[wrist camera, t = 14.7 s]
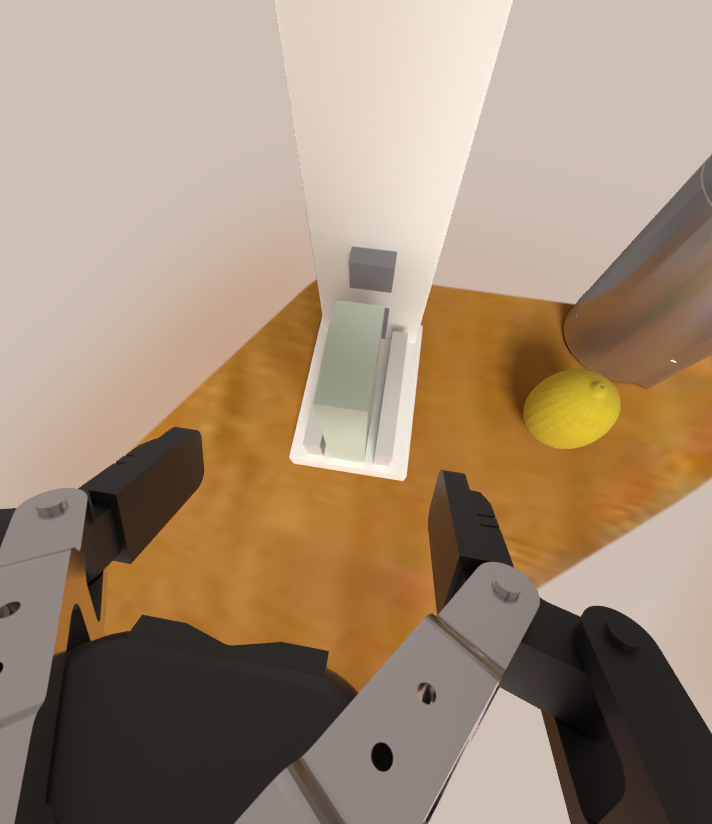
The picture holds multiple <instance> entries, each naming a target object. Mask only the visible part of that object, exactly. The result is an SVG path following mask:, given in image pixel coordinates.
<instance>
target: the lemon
mask: <svg viewBox="0 0 712 824" xmlns="http://www.w3.org/2000/svg"><path fill="white" fill-rule="evenodd" d="M620 405H621V401H620V397H619V393H618V391H617V389H616V387H615V386H614V385H613V384H612V382H611V381H610V380H608V379H607V378H606V377H605V376H603V375H601V374H599V373H597V372H594V371H591V370H586V369H570V370H565V371H562V372H559V373H556V374H554V375H551V376H549V377H547V378H546V379H544V380H543V381H542V382H540V383H539V384H538V385H537V386H536V387H534V389H533V390H532V391H531V393H530V394H529V396H528V397H527V399H526V402H525V405H524V408H523V418H524V422H525V425H526V427H527V429H528V431H529V432H530V434H531V435H532V436H533V437H534V438H535V439H537V440H538V441H539V442H541V443H543V444H545V445H547V446H550V447H554V448H558V449H572V448H577V447H581V446H585V445H588V444H590V443H592V442H594V441H595V440H597V439H599V438H600V437H602V436H603V435H604V434H605V433H606V432H607V431H608V430H609V429H610V428H611V427H612V426H613V424H614V423H615V422H616V420H617V418H618V415H619V413H620Z"/></svg>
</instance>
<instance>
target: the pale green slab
mask: <svg viewBox="0 0 712 824" xmlns="http://www.w3.org/2000/svg"><path fill="white" fill-rule="evenodd" d="M384 311H385V306H378V305H370V304H363V303H355V302H347V301H340V300H336V303H335V308H334V312H333V317H332V321H331V326H330V330H329V335H328V339H327V344H326V348H325V353H324V357H323V362H322V366H321V371H320V375H319V380H318V384H317V389H316V393H315V398H314V402H313V405H314V408H315V411H316V414H317V418H318V421H319V424H320V427H321V430H322V433H323V437H324V440H325V443H326V446H327V449H328V452H329V456H330V458H333V459H339V460H345V461H351V462H358V463H364V460H365V454H366V447H367V441H368V434H369V428H370V422H371V415H372V409H373V402H374V396H375V389H376V380H377V371H378V363H379V354H380V345H381V337H382V328H383V319H384Z"/></svg>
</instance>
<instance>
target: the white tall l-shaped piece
mask: <svg viewBox="0 0 712 824" xmlns="http://www.w3.org/2000/svg"><path fill="white" fill-rule="evenodd" d="M512 2H513V0H275V7H276V14H277V21H278V27H279V34H280V40H281V47H282V54H283V60H284V66H285V73H286V80H287V86H288V93H289V99H290V106H291V112H292V119H293V125H294V132H295V139H296V144H297V152H298V158H299V164H300V171H301V177H302V184H303V190H304V197H305V204H306V210H307V217H308V223H309V230H310V237H311V243H312V250H313V256H314V263H315V269H316V276H317V282H318V289H319V296H320V302H321V309H322V320H321V324H320V328H319V332H318V337H317V341H316V345H315V350H314V354H313V358H312V362H311V367H310V371H309V375H308V380H307V384H306V388H305V392H304V397H303V401H302V405H301V410H300V414H299V418H298V422H297V427H296V431H295V435H294V440H293V444H292V448H291V452H290V457H289V458H290V459H291V461H292V462H293V463H294V464H301V465H307V466H313V467H319V468H326V469H332V470H338V471H344V472H351V473H357V474H363V475H369V476H376V477H382V478H388V479H394V480H401V481H403V480H404V479H405V478H406V476H407V466H408V457H409V448H410V439H411V430H412V421H413V412H414V402H415V393H416V384H417V375H418V366H419V357H420V348H421V338H422V329H423V326H421V325H420V324H421V320H422V317H423V313H424V310H425V306H426V303H427V299H428V296H429V292H430V289H431V285H432V282H433V278H434V275H435V271H436V268H437V264H438V261H439V257H440V254H441V251H442V247H443V243H444V240H445V237H446V233H447V230H448V226H449V222H450V219H451V216H452V212H453V208H454V205H455V201H456V198H457V195H458V191H459V188H460V184H461V180H462V177H463V174H464V170H465V167H466V163H467V159H468V156H469V153H470V149H471V146H472V142H473V139H474V135H475V131H476V128H477V125H478V121H479V118H480V114H481V111H482V107H483V104H484V100H485V97H486V93H487V90H488V86H489V83H490V79H491V76H492V72H493V69H494V65H495V62H496V58H497V54H498V51H499V48H500V44H501V41H502V37H503V33H504V30H505V27H506V23H507V19H508V16H509V12H510V9H511V6H512ZM336 300H340V301H347V302H355V303H363V304H370V305H378V306H385V311H384V319H383V328H382V337H381V345H380V354H379V363H378V371H377V380H376V389H375V396H374V402H373V409H372V415H371V422H370V428H369V434H368V441H367V447H366V454H365V460H364V463H358V462H351V461H345V460H339V459H333V458H330V456H329V452H328V449H327V446H326V443H325V440H324V437H323V433H322V430H321V427H320V424H319V421H318V418H317V414H316V411H315V408H314V405H313V402H314V398H315V393H316V389H317V384H318V380H319V375H320V371H321V366H322V362H323V357H324V353H325V348H326V344H327V339H328V335H329V330H330V326H331V321H332V317H333V312H334V308H335V303H336Z"/></svg>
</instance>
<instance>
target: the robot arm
mask: <svg viewBox="0 0 712 824" xmlns="http://www.w3.org/2000/svg"><path fill="white" fill-rule="evenodd" d="M563 329H564V338H565V341H566V344H567V346H568V348H569V350H570V351H571V353H572V354H573V356H574V357H575V358H576V359H577V360H578V362H580V363H581V364H582V365H583V366H584V367H585V368H587V369H588V370H591V371H594V372H597V373H599V374H601V375H603V376H605V377H606V378H607V379H609V380H613V381H618V382H632V383H637V384H639V385H641V386H643V387H645V388H650V387H652V386H654V385H656V384H658V383H659V382H661V381H663V380H665V379H667V378H669V377H671V376H672V375H674V374H676V373H678V372H680V371H682V370H684V369H686V368H687V367H689V366H691V365H693V364H695V363H697V362H699V361H700V360H702V359H704V358H706V357H708V356H710V355H712V155H711V156H710V157H709V158H708V159H707V160H706V161H705V162H704V163H703V164H702V165H701V167H700V168H699V169H698V170H697V171H696V172H695V173H694V174H693V175H692V176H691V178H690V179H689V180H688V181H687V182H686V183H685V184H684V185H683V186H682V188H681V189H680V190H679V191H678V192H677V193H676V194H675V195H674V196H673V197H672V199H671V200H670V201H669V202H668V203H667V204H666V205H665V206H664V207H663V208H662V209H661V211H660V212H659V213H658V214H657V215H656V216H655V217H654V218H653V219H652V220H651V222H650V223H649V224H648V225H647V226H646V227H645V228H644V229H643V230H642V232H641V233H640V234H639V235H638V236H637V237H636V238H635V239H634V240H633V241H632V242H631V244H630V245H629V246H628V247H627V248H626V249H625V250H624V251H623V252H622V253H621V255H620V256H619V257H618V258H617V259H616V260H615V261H614V262H613V263H612V265H611V266H610V267H609V268H608V269H607V270H606V271H605V272H604V273H603V275H602V276H601V277H600V278H599V279H598V280H597V281H596V282H595V283H594V284H593V286H592V287H591V288H590V289H589V290H588V291H587V292H586V293H585V294H584V295H583V296H582V297H581V298H580V299H579V300H578V302H577V303H576V304H575V306H574V307H573V308H572V309H571V310H570V311H569V312H568V314H567V316H566V318H565V322H564V327H563ZM203 475H204V463H203V451H202V438H201V434H200V432H199V431H198V430H192V429H186V428H180V427H173V428H171V429H170V430H169V431H167V432H166V433H165V434H163V435H162V436H161V437H159V438H158V439H154V440H151V441H149V442H146V443H144V444H141V445H139V446H137V447H136V448H135V449H133V450H132V451H130V452H129V453H128V454H127V455H126V456H123V457H122V458H120V459H119V460H118V461H116V464H112V465H111V466H109V467H108V468H106V469H105V470H104V471H102V472H101V473H99V474H98V475H97V476H95V477H94V478H92V479H91V480H89V481H88V482H87V483H85V484H84V485H82V486H81V487H80V488H78V489H74V488H62V489H56V490H51V491H48V492H44V493H41V494H39V495H36V496H34V497H32V498H30V499H28V500H27V501H25V502H24V503H23V504H21V505H20V506H19V507H18V508H13V509H0V824H429V822H430V820H431V818H432V816H433V814H434V813H435V810H436V809H437V807H438V805H439V803H440V801H441V799H442V797H443V795H444V793H445V792H446V790H447V788H448V786H449V783H450V782H451V780H452V778H453V776H454V774H455V772H456V770H457V768H458V766H459V764H460V762H461V760H462V758H463V756H464V754H465V752H466V750H467V748H468V747H469V745H470V743H471V741H472V739H473V737H474V735H475V733H476V731H477V729H478V728H479V726H480V724H481V722H482V720H483V718H484V716H485V714H486V712H487V710H488V709H489V707H490V705H491V702H492V701H493V699H494V697H495V695H496V693H497V691H498V689H499V688H500V687H501V688H503V689H504V690H506V691H508V692H510V693H512V694H514V695H515V696H517V697H519V698H521V699H523V700H524V701H526V702H528V703H530V704H532V705H534V706H535V707H537V708H539V709H541V712H542V716H543V719H544V723H545V727H546V730H547V735H548V738H549V742H550V746H551V750H552V754H553V757H554V761H555V765H556V769H557V773H558V776H559V780H560V784H561V788H562V792H563V796H564V799H565V803H566V807H567V811H568V815H569V819H570V822H571V824H712V734H711V732H710V730H709V729H708V727H707V725H706V724H705V722H704V720H703V719H702V717H701V716H700V714H699V712H698V711H697V709H696V707H695V706H694V704H693V702H692V701H691V699H690V697H689V696H688V695H687V693H686V691H685V689H684V688H683V686H682V684H681V683H680V681H679V679H678V678H677V676H676V675H675V673H674V671H673V670H672V668H671V666H670V665H669V663H668V661H667V660H666V658H665V657H664V655H663V653H662V652H661V650H660V649H659V647H658V645H657V644H656V642H655V641H654V640H653V638H652V637H651V636H650V635H649V634H648V633H647V632H646V631H645V630H644V629H643V628H642V627H641V626H640V625H639V624H637V623H636V622H635V621H633V620H632V619H631V618H629V617H627V616H626V615H624V614H622V613H620V612H618V611H616V610H614V609H611V608H608V607H604V606H591V607H588V608H587V609H586V610H585V611H584V612H583V614H582V616H581V617H580V616H578V615H575V614H573V613H571V612H568V611H566V610H564V609H561V608H559V607H557V606H555V605H552V604H550V603H548V602H546V601H545V600H543V599H541V598H540V597H539V594H538V591H537V590H536V588H535V586H534V585H533V583H532V582H531V581H530V580H529V579H528V578H527V577H526V576H525V575H524V574H523V573H521V572H520V571H518V570H517V569H515V568H514V566H513V563H512V560H511V558H510V555H509V552H508V550H507V547H506V544H505V541H504V539H503V536H502V533H501V531H500V529H499V525H498V523H497V520H496V519H495V514H494V512H493V509H492V506H491V504H490V503H489V502H488V500H487V499H486V498H485V497H484V496H483V495H482V494H481V493H480V492H476V491H470V489H469V485H468V482H467V479H466V476H465V474H463V473H457V472H451V471H445V470H440V472H439V475H438V478H437V482H436V486H435V490H434V494H433V498H432V502H431V506H430V510H429V517H428V531H429V540H430V550H431V560H432V569H433V579H434V589H435V599H436V608H437V616H434V615H433V614H429V615H428V616H426V617H425V618H424V619H423V620H422V621H421V623H420V624H419V625H418V626H417V627H416V628H415V629H414V631H413V632H412V633H411V634H410V635H409V636H408V637H407V639H406V640H405V641H404V642H403V643H402V644H401V645H400V647H399V648H398V649H397V650H396V651H395V652H394V653H393V655H392V656H391V657H390V658H389V659H388V660H387V661H386V663H385V664H384V665H383V666H382V667H381V668H380V669H379V671H378V672H377V673H376V674H375V675H374V676H373V677H372V679H371V680H370V681H369V682H368V683H367V684H366V685H365V687H364V688H363V689H362V690H361V691H360V692H359V693H358V692H357V690H356V689H355V688H354V687H353V686H352V685H350V684H349V683H348V682H347V681H346V680H345V679H344V678H342V677H341V676H339V675H338V674H337V673H335V672H333V671H331V670H330V669H328V668H327V660H328V653H329V651H325V650H320V649H315V648H310V647H305V646H300V645H295V644H289V643H284V642H275V643H261V644H248V645H234V646H231V645H226V644H224V643H222V642H220V641H218V640H216V639H214V638H213V637H211V636H209V635H207V634H205V633H203V632H202V631H200V630H198V629H196V628H194V627H192V626H191V625H189V624H187V623H182V622H177V621H172V620H167V619H162V618H156V617H151V616H146V615H142V616H141V617H140V619H139V620H138V621H137V623H136V624H135V625H134V627H133V628H132V630H131V631H126V632H121V633H115V634H111V635H108V636H105V613H106V594H107V571H106V567H107V566H108V565H109V564H110V563H111V562H112V561H118V562H123V563H128V564H131V563H132V562H133V561H134V560H135V559H136V558H137V556H138V555H139V554H140V553H141V552H142V551H143V550H144V549H145V547H146V546H147V545H148V544H149V543H150V542H151V541H152V539H153V538H154V537H155V536H156V535H157V534H158V533H159V532H160V530H161V529H162V528H163V527H164V526H165V525H166V524H167V523H168V521H169V520H170V519H171V518H172V517H173V516H174V515H175V514H176V512H177V511H178V510H179V509H180V508H181V507H182V506H183V505H184V503H185V502H186V501H187V500H188V499H189V498H190V497H191V495H192V494H193V493H194V492H195V491H196V490H197V489H198V487H199V486H200V484H201V482H202V479H203Z"/></svg>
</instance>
